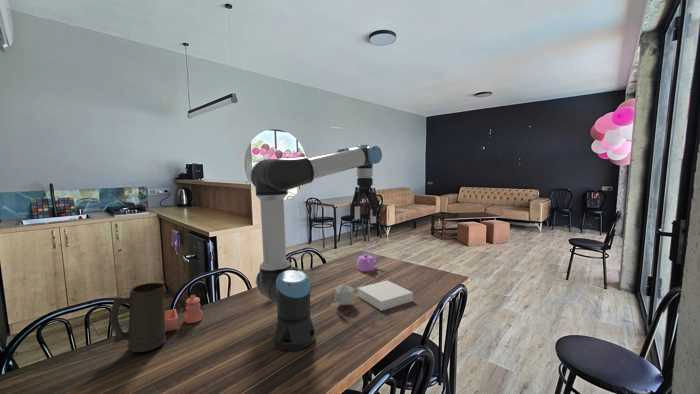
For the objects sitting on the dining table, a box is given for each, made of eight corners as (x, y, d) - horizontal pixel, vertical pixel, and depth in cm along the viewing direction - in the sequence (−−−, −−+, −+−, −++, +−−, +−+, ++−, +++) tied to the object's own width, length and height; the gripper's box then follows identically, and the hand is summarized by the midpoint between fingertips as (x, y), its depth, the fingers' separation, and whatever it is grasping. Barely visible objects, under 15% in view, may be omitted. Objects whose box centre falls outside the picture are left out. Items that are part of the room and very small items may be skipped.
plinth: (381, 310, 125) (381, 301, 124) (357, 296, 140) (357, 287, 140) (412, 300, 134) (412, 292, 134) (387, 288, 149) (387, 280, 149)
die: (332, 303, 132) (331, 281, 132) (350, 300, 135) (350, 279, 135) (337, 311, 124) (337, 288, 124) (357, 308, 127) (357, 285, 127)
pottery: (148, 336, 105) (147, 308, 105) (148, 325, 113) (147, 300, 112) (204, 322, 115) (203, 297, 115) (200, 313, 123) (200, 290, 123)
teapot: (360, 275, 169) (360, 258, 168) (354, 268, 182) (354, 252, 181) (385, 273, 172) (385, 256, 171) (377, 266, 185) (377, 251, 184)
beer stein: (161, 332, 109) (158, 279, 107) (173, 342, 102) (170, 285, 101) (108, 351, 97) (104, 292, 95) (118, 364, 90) (114, 301, 89)
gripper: (387, 177, 134) (387, 223, 136) (357, 177, 155) (357, 217, 157) (374, 177, 130) (374, 225, 132) (344, 177, 151) (345, 218, 153)
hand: (364, 221), depth 144 cm, fingers open, 13 cm apart
